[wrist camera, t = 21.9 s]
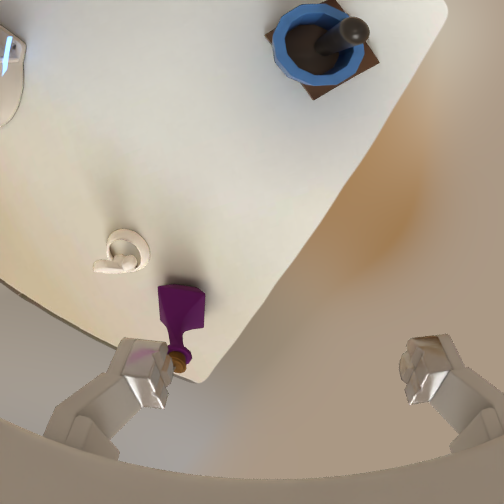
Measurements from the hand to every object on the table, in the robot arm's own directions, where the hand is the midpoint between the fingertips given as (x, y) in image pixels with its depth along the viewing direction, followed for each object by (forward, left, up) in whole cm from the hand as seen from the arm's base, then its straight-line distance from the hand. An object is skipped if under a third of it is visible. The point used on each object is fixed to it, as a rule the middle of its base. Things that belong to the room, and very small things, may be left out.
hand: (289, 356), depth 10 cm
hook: (0, -28, -33) cm, 44 cm away
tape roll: (-7, +10, -32) cm, 34 cm away
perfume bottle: (+12, -26, -33) cm, 44 cm away
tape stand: (-7, +12, -33) cm, 36 cm away
